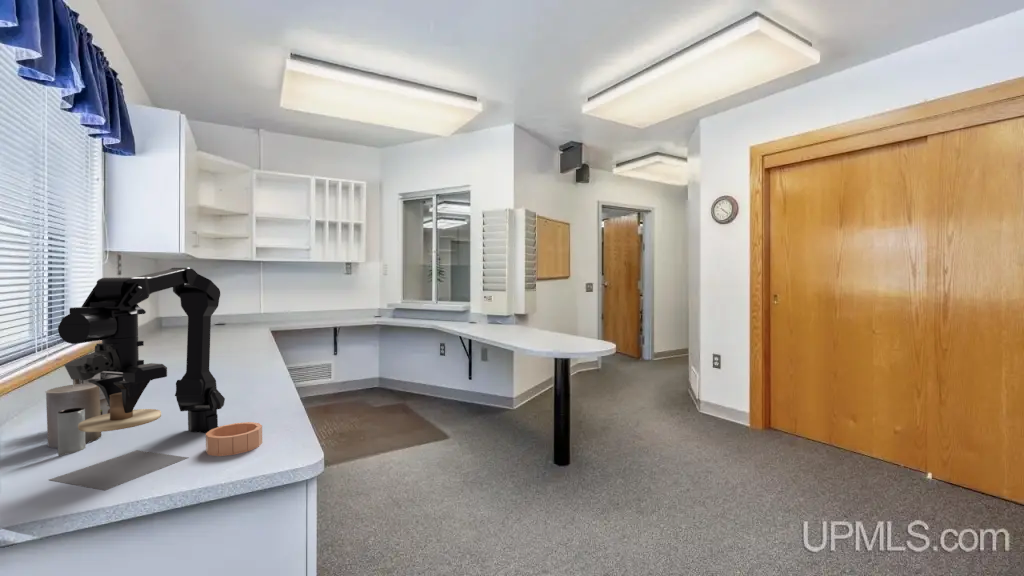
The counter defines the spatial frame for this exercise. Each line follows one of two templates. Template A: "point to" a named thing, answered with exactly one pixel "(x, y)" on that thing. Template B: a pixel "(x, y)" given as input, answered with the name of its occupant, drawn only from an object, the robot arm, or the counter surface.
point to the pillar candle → (68, 399)
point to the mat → (118, 470)
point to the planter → (70, 431)
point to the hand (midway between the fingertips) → (121, 411)
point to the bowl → (233, 438)
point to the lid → (118, 417)
